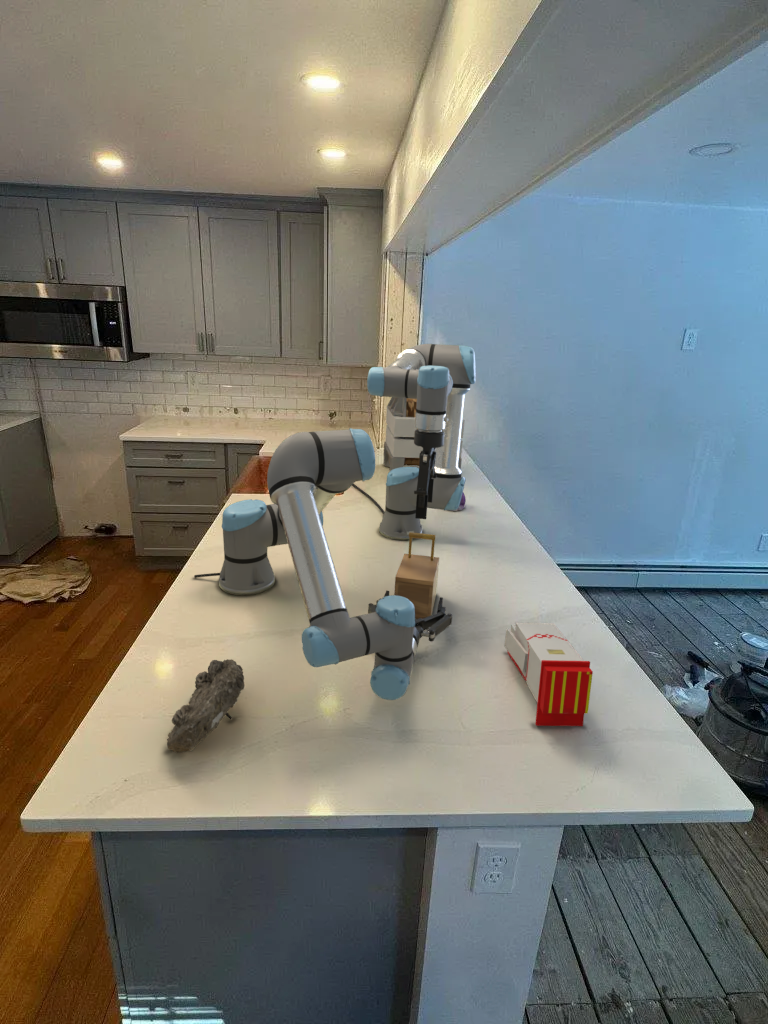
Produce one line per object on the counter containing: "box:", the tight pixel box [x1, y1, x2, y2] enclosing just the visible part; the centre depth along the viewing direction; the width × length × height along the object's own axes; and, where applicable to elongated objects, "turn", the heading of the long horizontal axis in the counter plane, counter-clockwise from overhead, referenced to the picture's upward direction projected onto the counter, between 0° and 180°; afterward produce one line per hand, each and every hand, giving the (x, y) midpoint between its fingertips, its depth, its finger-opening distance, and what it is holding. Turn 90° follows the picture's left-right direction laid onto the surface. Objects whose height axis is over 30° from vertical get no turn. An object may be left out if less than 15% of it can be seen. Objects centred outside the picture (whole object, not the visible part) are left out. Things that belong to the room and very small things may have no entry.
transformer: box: [383, 397, 465, 472], centre depth 268 cm, size 34×33×41 cm
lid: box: [394, 532, 440, 586], centre depth 148 cm, size 15×10×9 cm, turn 169°
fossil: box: [166, 658, 245, 754], centre depth 106 cm, size 22×10×15 cm
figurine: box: [450, 492, 467, 512], centre depth 226 cm, size 9×10×15 cm
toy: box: [503, 622, 594, 727], centre depth 121 cm, size 12×13×30 cm
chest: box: [393, 562, 440, 620], centre depth 151 cm, size 14×10×10 cm
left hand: (414, 598), depth 143 cm, fingers open, 13 cm apart
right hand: (424, 509), depth 149 cm, fingers open, 13 cm apart
